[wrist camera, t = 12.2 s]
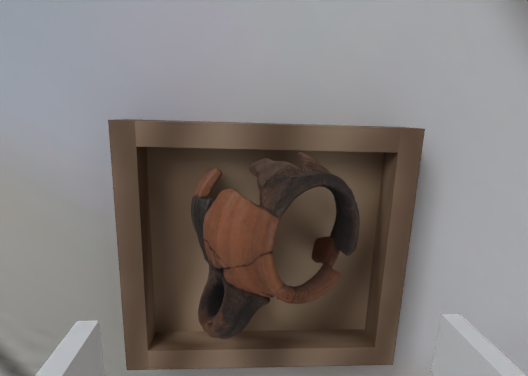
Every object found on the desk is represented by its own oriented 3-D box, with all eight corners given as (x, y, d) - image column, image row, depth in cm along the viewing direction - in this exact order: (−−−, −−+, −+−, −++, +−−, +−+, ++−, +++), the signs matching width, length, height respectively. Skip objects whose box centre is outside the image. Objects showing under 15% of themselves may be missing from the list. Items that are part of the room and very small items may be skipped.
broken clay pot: (212, 122, 22) (290, 123, 15) (305, 177, 27) (392, 196, 20) (134, 291, 21) (180, 375, 14) (247, 313, 26) (318, 380, 19)
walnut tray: (139, 342, 25) (126, 370, 22) (125, 119, 21) (108, 120, 19) (377, 338, 26) (392, 364, 24) (403, 127, 23) (424, 128, 20)
